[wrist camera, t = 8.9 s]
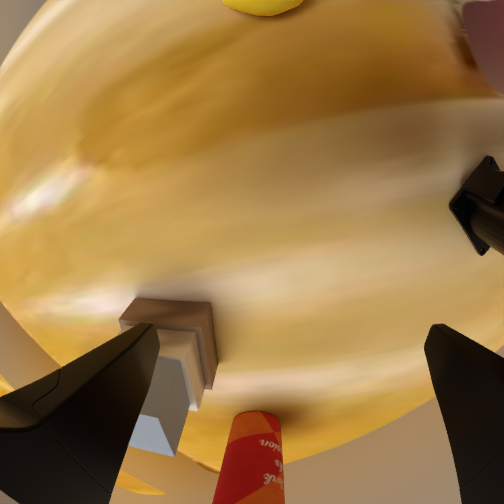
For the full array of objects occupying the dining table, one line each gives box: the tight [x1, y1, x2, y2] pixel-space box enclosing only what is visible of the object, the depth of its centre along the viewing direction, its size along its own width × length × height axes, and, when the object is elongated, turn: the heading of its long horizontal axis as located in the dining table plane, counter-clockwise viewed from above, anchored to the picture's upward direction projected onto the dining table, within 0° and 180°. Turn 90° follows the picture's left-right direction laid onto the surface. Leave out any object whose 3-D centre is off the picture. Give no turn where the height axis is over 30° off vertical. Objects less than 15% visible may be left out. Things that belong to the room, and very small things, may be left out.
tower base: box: [118, 298, 218, 411], centre depth 22 cm, size 7×7×6 cm
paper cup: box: [212, 411, 285, 504], centre depth 23 cm, size 8×8×14 cm
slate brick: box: [128, 357, 190, 457], centre depth 17 cm, size 5×5×5 cm
